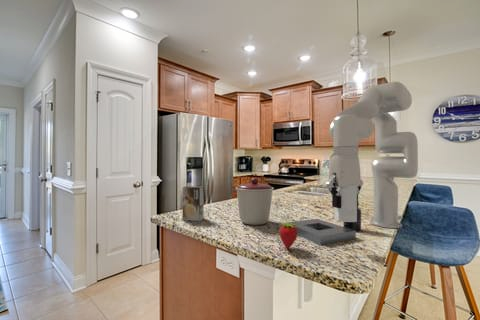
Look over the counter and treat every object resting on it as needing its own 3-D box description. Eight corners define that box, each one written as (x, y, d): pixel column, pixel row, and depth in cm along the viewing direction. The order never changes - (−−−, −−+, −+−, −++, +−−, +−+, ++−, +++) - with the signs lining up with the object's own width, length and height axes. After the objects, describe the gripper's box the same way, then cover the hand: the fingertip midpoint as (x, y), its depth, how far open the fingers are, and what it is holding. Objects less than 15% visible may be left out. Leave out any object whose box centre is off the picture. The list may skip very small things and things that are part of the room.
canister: (238, 217, 120) (238, 176, 120) (273, 218, 118) (273, 177, 118) (232, 226, 102) (232, 178, 102) (273, 228, 100) (274, 179, 100)
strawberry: (296, 245, 80) (296, 216, 80) (298, 253, 72) (298, 221, 72) (279, 244, 81) (279, 215, 81) (278, 252, 73) (279, 220, 74)
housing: (317, 225, 106) (317, 218, 106) (355, 238, 88) (355, 230, 88) (285, 229, 98) (285, 222, 98) (320, 245, 80) (320, 236, 80)
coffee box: (204, 218, 117) (204, 186, 117) (199, 221, 111) (200, 187, 111) (186, 217, 118) (187, 185, 119) (181, 220, 112) (182, 187, 112)
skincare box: (351, 219, 79) (351, 183, 79) (357, 222, 74) (358, 184, 75) (332, 219, 79) (333, 183, 79) (338, 222, 74) (338, 184, 75)
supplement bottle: (363, 232, 96) (363, 203, 96) (345, 231, 97) (345, 202, 97) (358, 227, 102) (358, 200, 102) (341, 226, 104) (341, 199, 104)
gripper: (353, 154, 84) (353, 203, 84) (317, 152, 77) (316, 206, 76) (373, 153, 77) (373, 206, 77) (335, 151, 70) (335, 210, 70)
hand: (345, 206), depth 77 cm, fingers closed on skincare box, 7 cm apart
